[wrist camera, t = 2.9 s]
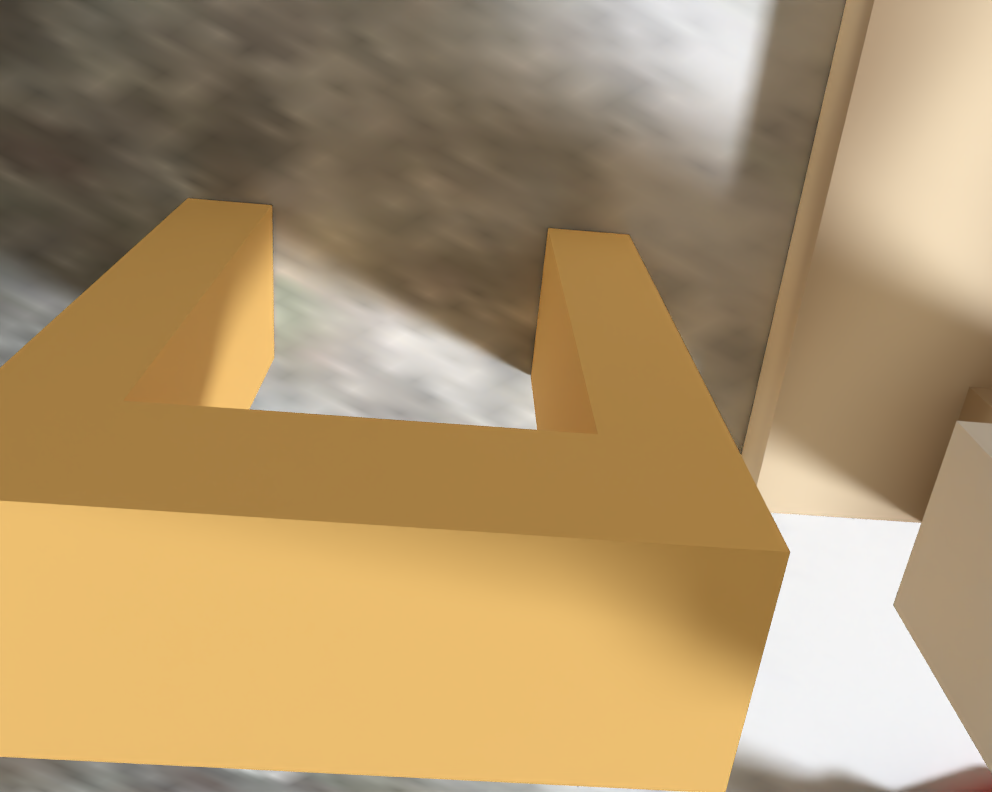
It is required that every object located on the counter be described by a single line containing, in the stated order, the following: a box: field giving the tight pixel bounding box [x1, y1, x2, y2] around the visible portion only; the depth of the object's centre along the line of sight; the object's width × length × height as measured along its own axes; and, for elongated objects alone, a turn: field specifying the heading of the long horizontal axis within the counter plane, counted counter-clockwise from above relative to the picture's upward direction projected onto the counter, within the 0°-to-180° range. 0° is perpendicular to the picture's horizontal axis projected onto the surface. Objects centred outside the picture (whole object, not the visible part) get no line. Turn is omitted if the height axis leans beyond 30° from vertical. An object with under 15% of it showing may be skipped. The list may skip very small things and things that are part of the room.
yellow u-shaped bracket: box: [0, 198, 790, 792], centre depth 13 cm, size 8×3×10 cm, turn 85°
